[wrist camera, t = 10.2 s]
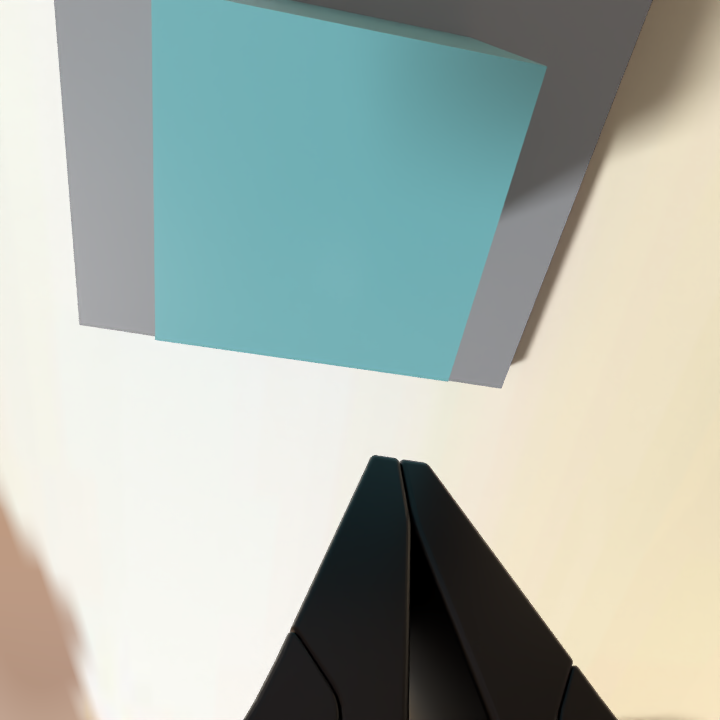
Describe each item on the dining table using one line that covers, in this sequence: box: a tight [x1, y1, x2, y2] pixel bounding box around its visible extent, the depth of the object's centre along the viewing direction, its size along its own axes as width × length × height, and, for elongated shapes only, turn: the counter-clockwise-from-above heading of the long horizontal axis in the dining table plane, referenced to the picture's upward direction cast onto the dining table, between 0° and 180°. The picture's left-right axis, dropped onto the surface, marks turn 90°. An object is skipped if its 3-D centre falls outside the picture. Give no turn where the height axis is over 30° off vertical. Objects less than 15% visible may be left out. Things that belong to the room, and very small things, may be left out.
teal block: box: [151, 0, 547, 381], centre depth 13 cm, size 6×6×7 cm
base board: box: [54, 0, 652, 388], centre depth 16 cm, size 14×14×1 cm
